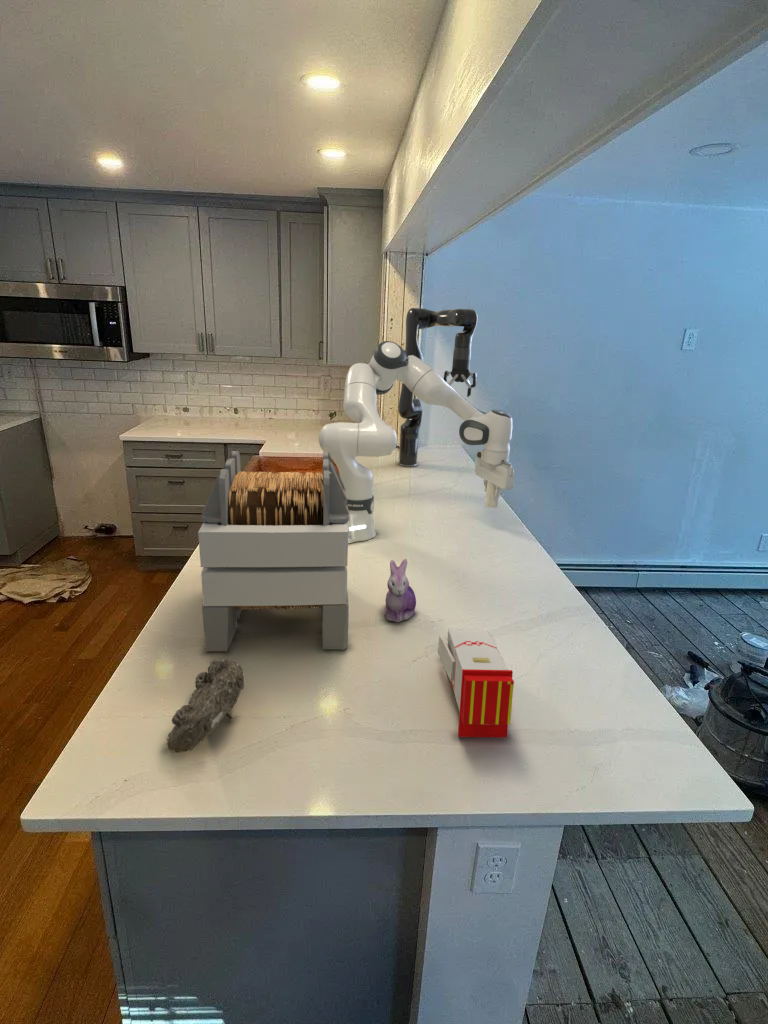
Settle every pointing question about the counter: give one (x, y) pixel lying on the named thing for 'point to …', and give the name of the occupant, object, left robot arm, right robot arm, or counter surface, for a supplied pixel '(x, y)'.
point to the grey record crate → (274, 549)
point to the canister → (491, 496)
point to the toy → (478, 682)
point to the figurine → (399, 594)
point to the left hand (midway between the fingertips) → (491, 494)
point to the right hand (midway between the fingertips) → (458, 395)
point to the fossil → (206, 705)
